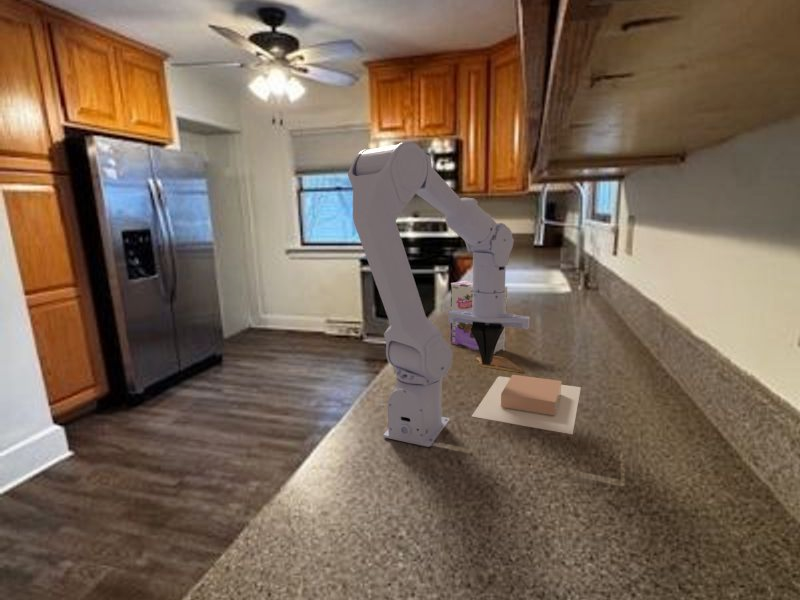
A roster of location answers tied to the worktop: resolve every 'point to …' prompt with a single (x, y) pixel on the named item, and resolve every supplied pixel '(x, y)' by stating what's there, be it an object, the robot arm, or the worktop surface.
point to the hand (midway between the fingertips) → (487, 362)
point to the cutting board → (558, 423)
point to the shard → (500, 364)
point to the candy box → (462, 331)
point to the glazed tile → (531, 394)
